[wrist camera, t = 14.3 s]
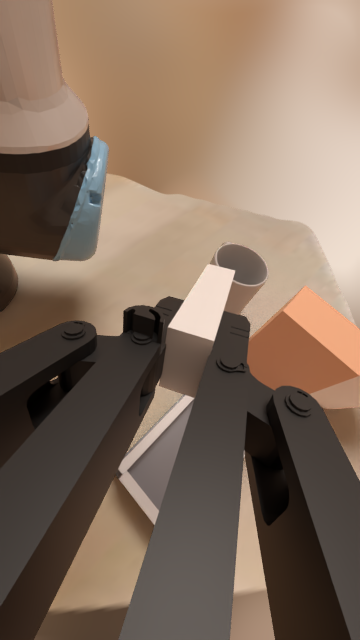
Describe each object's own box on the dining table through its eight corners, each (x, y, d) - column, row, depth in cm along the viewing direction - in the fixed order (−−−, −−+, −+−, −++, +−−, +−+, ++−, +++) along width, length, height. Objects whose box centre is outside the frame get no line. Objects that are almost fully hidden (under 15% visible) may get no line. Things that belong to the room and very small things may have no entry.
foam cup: (319, 428, 36) (407, 412, 25) (286, 371, 40) (351, 336, 29) (358, 407, 40) (450, 385, 29) (325, 356, 44) (395, 320, 33)
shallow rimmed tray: (171, 546, 25) (181, 560, 22) (111, 468, 28) (111, 469, 24) (280, 387, 38) (299, 379, 34) (233, 343, 40) (246, 330, 37)
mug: (241, 327, 42) (276, 289, 33) (195, 325, 40) (219, 283, 31) (229, 275, 49) (256, 231, 39) (188, 271, 46) (207, 223, 37)
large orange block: (259, 414, 33) (357, 379, 20) (216, 371, 34) (280, 313, 21) (279, 384, 36) (376, 338, 23) (239, 347, 37) (307, 283, 24)
